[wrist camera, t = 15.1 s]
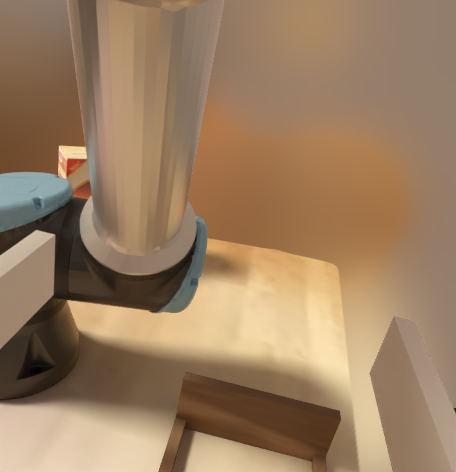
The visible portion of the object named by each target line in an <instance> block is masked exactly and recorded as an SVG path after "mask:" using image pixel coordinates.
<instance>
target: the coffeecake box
mask: <svg viewBox="0 0 456 472" xmlns="http://www.w3.org/2000/svg"><path fill="white" fill-rule="evenodd" d="M58 176H59V177H60V178H65V179H67V180H68V181H69V182H70V183H71V185H72V188H73V190H74V195H73V196H74V197H78V198H84V199H89V198H90V197H91V196H92V193H91V185H90V177H89V169H88V162H87V154H86V147H73V146H59V168H58Z"/></svg>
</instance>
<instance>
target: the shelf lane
mask: <svg viewBox="0 0 456 472" xmlns="http://www.w3.org/2000/svg"><path fill="white" fill-rule="evenodd" d="M340 420H341V417H340V411H338V410H334V409H330V408H326V407H322V406H318V405H314V404H310V403H306V402H302V401H298V400H295V399H291V398H287V397H283V396H279V395H275V394H271V393H267V392H263V391H259V390H255V389H251V388H247V387H243V386H239V385H236V384H232V383H228V382H224V381H220V380H216V379H212V378H208V377H204V376H200V375H196V374H192V373H188V372H186V373H185V376H184V379H183V384H182V389H181V394H180V399H179V404H178V409H177V414H176V419H175V422H174V425H173V428H172V431H171V434H170V437H169V441H168V444H167V447H166V450H165V453H164V456H163V459H162V462H161V465H160V468H159V472H172V469H173V465H174V462H175V459H176V455H177V452H178V448H179V445H180V441H181V438H182V434H183V431H184V428H187V429H191V430H195V431H198V432H202V433H206V434H210V435H214V436H218V437H221V438H225V439H229V440H233V441H237V442H241V443H244V444H248V445H252V446H256V447H260V448H264V449H267V450H271V451H275V452H279V453H283V454H287V455H290V456H294V457H298V458H302V459H306V460H310V461H312V469H313V472H327V469H326V454H327V452H328V449H329V447H330V445H331V442H332V440H333V437H334V435H335V432H336V430H337V428H338V425H339V423H340Z"/></svg>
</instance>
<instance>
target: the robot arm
mask: <svg viewBox="0 0 456 472" xmlns="http://www.w3.org/2000/svg"><path fill="white" fill-rule="evenodd" d="M67 6H68V15H69V22H70V30H71V38H72V45H73V53H74V61H75V68H76V76H77V84H78V92H79V99H80V107H81V115H82V123H83V130H84V138H85V146H86V154H87V162H88V169H89V177H90V185H91V193H92V196H91V197H90V198H89V199H84V198H78V197H74V196H73V195H74V190H73V188H72V185H71V183H70V182H69V181H68V180H67V179H65V178H60V177H59V176H57V175H53V174H47V173H38V172H37V173H36V172H17V173H7V174H0V399H12V398H19V397H24V396H28V395H31V394H35V393H37V392H40V391H42V390H45V389H47V388H49V387H51V386H52V385H54V384H56V383H57V382H59V381H60V380H61V379H63V378H64V377H65V376H66V375H67V374H68V373H69V372H70V371H71V369H72V368H73V367H74V365H75V363H76V361H77V358H78V353H79V333H78V329H77V327H76V324H75V321H74V318H73V316H72V313H71V310H70V308H69V305H68V302H67V300H71V301H79V302H87V303H94V304H102V305H110V306H117V307H125V308H133V309H140V310H148V311H150V312H152V313H161V312H169V313H178V312H181V311H183V310H185V309H186V308H187V307H188V306H189V304H190V303H191V301H192V299H193V297H194V295H195V292H196V290H197V287H198V279H199V277H200V276H201V273H202V269H203V265H204V260H205V254H206V247H207V225H206V223H205V221H204V220H203V219H202V218H200V217H197V216H196V215H195V213H194V211H193V208H192V206H191V204H190V203H189V201H188V200H187V199H188V193H189V188H190V183H191V177H192V172H193V167H194V161H195V156H196V151H197V145H198V140H199V135H200V129H201V124H202V118H203V113H204V108H205V102H206V97H207V92H208V86H209V81H210V76H211V70H212V65H213V60H214V54H215V49H216V43H217V38H218V33H219V28H220V22H221V16H222V11H223V6H224V0H67ZM370 376H371V381H372V385H373V389H374V393H375V398H376V402H377V406H378V410H379V414H380V419H381V423H382V427H383V431H384V435H385V440H386V444H387V448H388V453H389V457H390V461H391V465H392V469H393V472H456V408H453V406H452V404H451V402H450V400H449V397H448V395H447V393H446V391H445V389H444V386H443V384H442V382H441V379H440V377H439V375H438V373H437V370H436V368H435V366H434V364H433V362H432V359H431V357H430V355H429V353H428V350H427V348H426V346H425V344H424V341H423V339H422V337H421V335H420V333H419V330H418V328H417V326H416V323H415V321H412V320H407V319H403V318H399V317H395V316H394V317H393V320H392V322H391V324H390V327H389V329H388V331H387V334H386V336H385V338H384V341H383V343H382V345H381V348H380V350H379V353H378V355H377V357H376V359H375V362H374V364H373V366H372V369H371V371H370Z"/></svg>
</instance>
